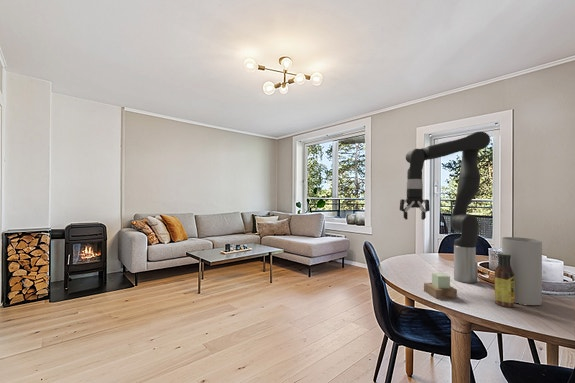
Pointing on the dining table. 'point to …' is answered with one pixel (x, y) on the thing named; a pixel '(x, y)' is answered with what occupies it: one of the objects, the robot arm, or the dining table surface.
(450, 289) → the walnut base
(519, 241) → the cylinder vase
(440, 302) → the dining table surface
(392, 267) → the dining table surface
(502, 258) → the sauce bottle
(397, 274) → the dining table surface
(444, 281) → the green cube
